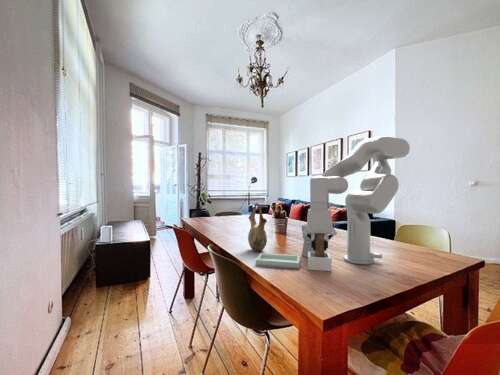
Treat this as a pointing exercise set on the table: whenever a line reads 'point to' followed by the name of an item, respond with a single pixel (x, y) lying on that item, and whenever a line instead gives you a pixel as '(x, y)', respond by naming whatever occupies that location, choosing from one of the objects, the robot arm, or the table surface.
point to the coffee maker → (306, 243)
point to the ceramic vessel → (257, 231)
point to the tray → (278, 260)
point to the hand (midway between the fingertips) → (319, 249)
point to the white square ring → (319, 262)
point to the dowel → (319, 245)
